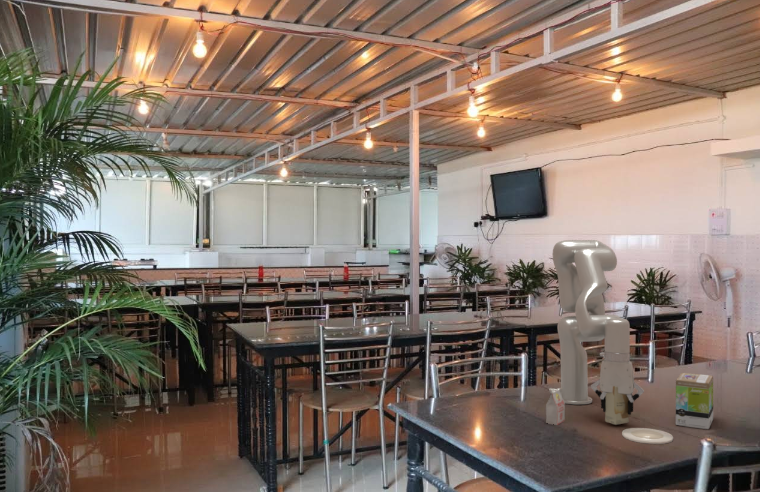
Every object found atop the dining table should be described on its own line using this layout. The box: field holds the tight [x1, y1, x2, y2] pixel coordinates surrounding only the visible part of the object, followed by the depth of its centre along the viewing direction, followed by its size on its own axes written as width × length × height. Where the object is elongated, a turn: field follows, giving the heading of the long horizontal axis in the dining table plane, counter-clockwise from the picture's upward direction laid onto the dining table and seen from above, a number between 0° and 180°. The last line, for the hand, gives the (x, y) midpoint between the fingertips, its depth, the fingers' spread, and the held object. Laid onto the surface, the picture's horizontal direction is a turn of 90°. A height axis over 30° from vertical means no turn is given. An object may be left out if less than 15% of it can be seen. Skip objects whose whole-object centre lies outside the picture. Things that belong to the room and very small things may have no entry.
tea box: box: [675, 372, 714, 430], centre depth 203 cm, size 15×10×15 cm, turn 148°
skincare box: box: [604, 386, 630, 426], centre depth 201 cm, size 6×4×12 cm
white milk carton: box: [545, 390, 566, 426], centre depth 205 cm, size 4×7×10 cm, turn 143°
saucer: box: [621, 427, 674, 445], centre depth 187 cm, size 14×14×1 cm
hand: (617, 411), depth 201 cm, fingers closed on skincare box, 6 cm apart
